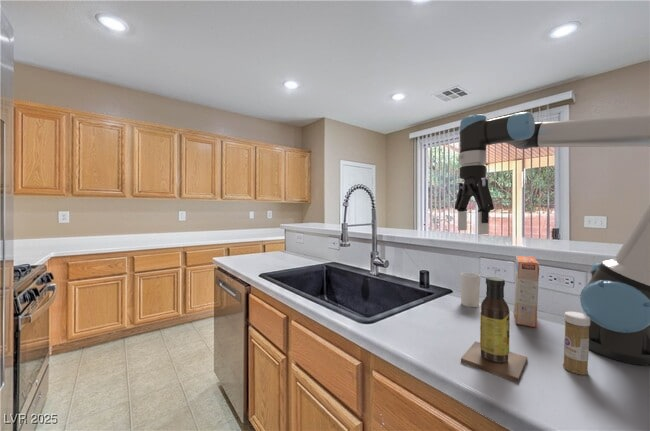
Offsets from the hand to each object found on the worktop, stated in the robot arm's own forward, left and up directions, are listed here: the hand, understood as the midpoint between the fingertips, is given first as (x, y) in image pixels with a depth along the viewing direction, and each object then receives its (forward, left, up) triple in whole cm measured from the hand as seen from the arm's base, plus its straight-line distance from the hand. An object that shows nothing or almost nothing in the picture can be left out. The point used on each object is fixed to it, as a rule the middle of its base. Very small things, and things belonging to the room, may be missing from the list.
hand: (471, 232), depth 92 cm
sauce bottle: (-11, +19, -30) cm, 37 cm away
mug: (+6, -22, -31) cm, 38 cm away
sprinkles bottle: (-26, +10, -31) cm, 42 cm away
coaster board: (-11, +19, -30) cm, 38 cm away
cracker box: (-12, -18, -31) cm, 37 cm away
